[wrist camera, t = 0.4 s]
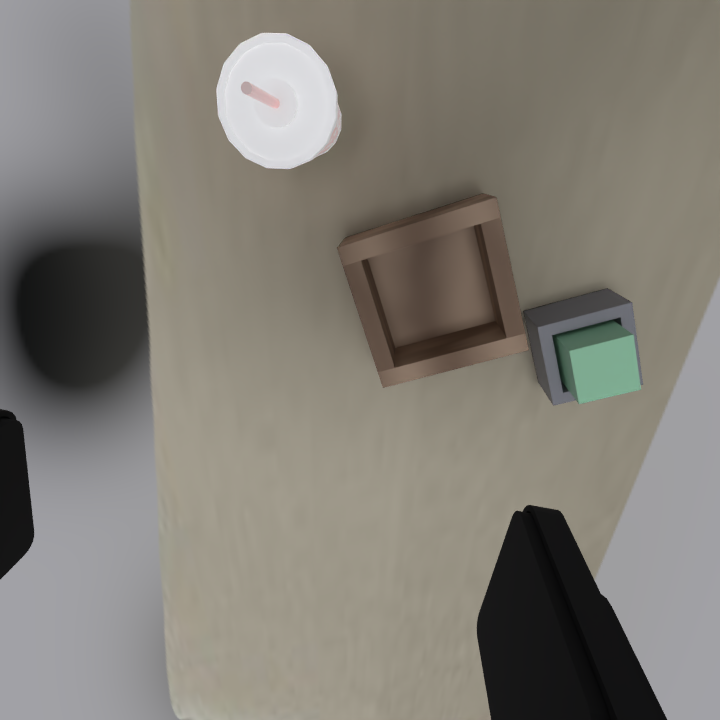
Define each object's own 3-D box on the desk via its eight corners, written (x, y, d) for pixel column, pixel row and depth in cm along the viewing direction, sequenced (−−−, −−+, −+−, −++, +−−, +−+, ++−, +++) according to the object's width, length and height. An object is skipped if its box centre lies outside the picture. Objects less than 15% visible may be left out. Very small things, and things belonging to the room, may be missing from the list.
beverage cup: (342, 179, 34) (306, 185, 21) (256, 158, 34) (166, 150, 21) (362, 81, 32) (336, 18, 19) (270, 57, 31) (179, -21, 18)
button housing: (607, 288, 35) (632, 302, 31) (618, 362, 37) (643, 384, 33) (523, 311, 36) (537, 327, 32) (538, 382, 38) (553, 405, 34)
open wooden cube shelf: (482, 193, 33) (496, 197, 29) (512, 327, 37) (529, 350, 32) (345, 237, 35) (337, 247, 31) (385, 361, 38) (382, 387, 34)
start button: (601, 312, 34) (633, 334, 30) (609, 360, 35) (640, 389, 31) (546, 327, 35) (569, 350, 30) (556, 374, 36) (579, 404, 32)
